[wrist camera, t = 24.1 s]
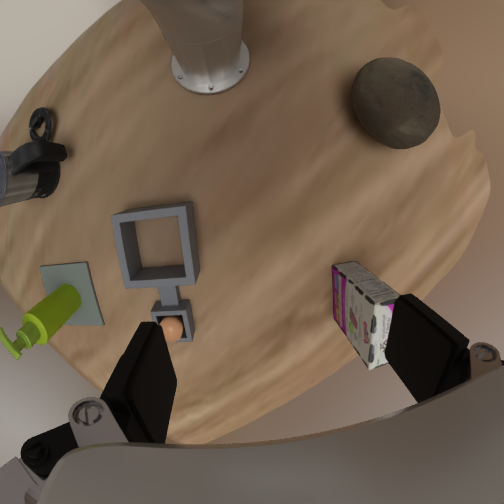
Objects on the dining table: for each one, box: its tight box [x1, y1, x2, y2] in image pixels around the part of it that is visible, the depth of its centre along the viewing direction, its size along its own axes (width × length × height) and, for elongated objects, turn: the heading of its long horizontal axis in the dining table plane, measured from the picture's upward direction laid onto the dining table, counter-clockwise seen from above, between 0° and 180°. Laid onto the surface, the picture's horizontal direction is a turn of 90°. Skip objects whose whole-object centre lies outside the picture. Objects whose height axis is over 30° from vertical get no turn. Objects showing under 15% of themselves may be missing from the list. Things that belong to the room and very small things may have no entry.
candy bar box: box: [332, 261, 400, 370], centre depth 40 cm, size 11×5×16 cm, turn 9°
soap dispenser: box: [0, 284, 81, 360], centre depth 34 cm, size 6×7×20 cm
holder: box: [111, 202, 200, 342], centre depth 42 cm, size 23×11×6 cm, turn 4°
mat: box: [39, 262, 105, 326], centre depth 44 cm, size 13×13×1 cm
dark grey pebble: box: [352, 58, 440, 149], centre depth 32 cm, size 14×14×15 cm
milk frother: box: [0, 107, 67, 207], centre depth 29 cm, size 14×16×15 cm
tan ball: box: [160, 315, 184, 342], centre depth 43 cm, size 4×4×3 cm
